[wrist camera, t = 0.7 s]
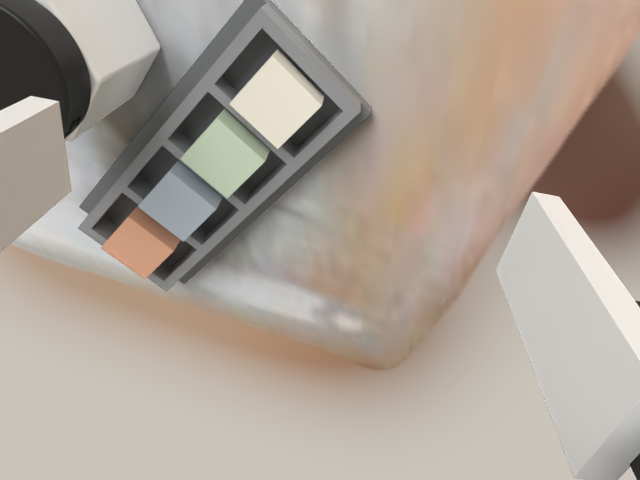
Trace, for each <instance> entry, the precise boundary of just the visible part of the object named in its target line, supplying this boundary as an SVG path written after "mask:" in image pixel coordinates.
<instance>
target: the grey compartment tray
mask: <svg viewBox="0 0 640 480" xmlns="http://www.w3.org/2000/svg"><path fill="white" fill-rule="evenodd" d="M277 49H278V50H279V51H280V52H281V53H282V54H283V55H284V56H285V57H286V58H287V59H288V60H289V61H290V62H291V63H292V64H293V65H294V66H295V67H296V68H297V69H298V70H299V71H300V72H301V74H302V75H303V76H304V77H305V78H306V79H307V80H308V81H309V82H310V83H311V84H312V85H313V86H314V87H315V88H316V89H317V90H318V91H319V92H320V93H321V94H322V95H323V96H324V99H323V103H322V106H321V107H320V108H319V109H318V110H317V111H316V112H315V113H314V114H313V115H312V116H311V117H310V118H309V119H308V120H307V121H306V122H305V123H304V124H303V125H302V126H301V127H300V128H299V129H298V130H297V131H296V132H295V133H294V134H293V135H292V136H291V137H290V138H289V139H288V140H287V141H286V142H285V143H284V144H282V145H281V146H280V147H279V148H278V149H277V148H276V147H275V146H274V145H273V144H272V143H271V142H269V141H268V140H267V139H266V138H265V137H264V136H263V135H262V134H261V133H260V132H259V131H258V130H256V129H255V128H254V127H253V126H252V125H251V124H250V123H249V122H248V121H247V120H246V119H245V118H244V117H242V116H241V115H240V114H239V113H238V112H237V111H236V110H235V109H234V108H233V107H232V106H231V105H229V104H230V102H231V101H232V100H233V99H234V97H235V96H236V95H237V94H238V93H239V92H240V90H241V89H242V88H243V87H244V86H245V85H246V84H247V83H248V81H249V80H250V79H251V78H252V77H253V76H254V75H255V74H256V73H257V71H258V70H259V69H260V68H261V67H262V66H263V65H264V64H265V62H266V61H267V60H268V59H269V58H270V57H271V56H272V55H273V53H274V52H275V51H276V50H277ZM224 108H225V109H226V110H227V111H228V112H229V113H230V114H231V115H232V116H233V117H235V118H236V119H237V120H238V121H239V122H240V123H241V124H242V125H243V126H244V127H245V128H246V129H248V130H249V131H250V132H251V133H252V134H253V135H254V136H255V137H256V138H257V139H258V140H260V141H261V142H262V143H263V144H264V145H265V146H266V147H267V148H268V149H269V150H270V152H269V154H268V156H267V158H266V161H265V162H264V163H263V164H262V165H261V166H260V167H259V168H258V169H257V170H256V171H255V172H254V173H253V174H252V175H251V176H250V177H249V178H248V179H247V180H246V181H245V182H244V183H243V184H242V185H241V186H240V187H239V188H238V189H237V190H236V191H235V192H234V193H233V194H232V195H230V196H229V197H228V198H226V197H225V196H223V195H222V194H221V193H220V192H219V191H217V190H216V189H215V188H214V187H213V186H211V185H210V184H209V183H208V182H207V181H205V180H204V179H203V178H202V177H201V176H199V175H198V174H197V173H196V172H195V171H194V170H192V169H191V168H190V167H189V166H188V165H186V164H185V163H184V162H183V161H182V160H180V159H181V157H182V156H183V155H184V154H185V152H186V151H187V150H188V149H189V148H190V147H191V145H192V144H193V143H194V142H195V141H196V140H197V139H198V138H199V136H200V135H201V134H202V133H203V132H204V131H205V130H206V129H207V127H208V126H209V125H210V124H211V123H212V122H213V121H214V120H215V118H216V117H217V116H218V115H219V114H220V113H221V112H222V111H223V110H224ZM370 114H371V106H370V105H369V104H368V103H367V102H366V101H365V100H364V99H363V98H362V97H361V96H360V94H359V93H358V92H357V91H356V90H355V89H354V88H353V87H352V86H351V85H350V84H349V83H348V82H347V81H346V80H345V79H344V77H343V76H342V75H341V74H340V73H339V72H338V71H337V70H336V69H335V68H334V67H333V66H332V65H331V64H330V63H329V62H328V61H327V59H326V58H325V57H324V56H323V55H322V54H321V53H320V52H319V51H318V50H317V49H316V48H315V47H314V46H313V45H312V44H311V42H310V41H309V40H308V39H307V38H306V37H305V36H304V35H303V34H302V33H301V32H300V31H299V30H298V29H297V28H296V27H295V26H294V24H293V23H292V22H291V21H290V20H289V19H288V18H287V17H286V16H285V15H284V14H283V13H282V12H281V11H280V10H279V9H278V7H277V6H276V5H275V4H274V3H273V2H272V1H271V0H245V1H244V2H243V3H242V4H241V6H240V7H239V8H238V9H237V11H236V12H235V13H234V14H233V16H232V17H231V18H230V19H229V21H228V22H227V23H226V24H225V26H224V27H223V28H222V29H221V31H220V32H219V33H218V34H217V36H216V37H215V38H214V39H213V41H212V42H211V43H210V44H209V46H208V47H207V48H206V49H205V51H204V52H203V53H202V54H201V55H200V57H199V58H198V59H197V60H196V62H195V63H194V64H193V65H192V67H191V68H190V69H189V70H188V72H187V73H186V74H185V75H184V77H183V78H182V79H181V80H180V82H179V83H178V84H177V85H176V87H175V88H174V89H173V90H172V92H171V93H170V94H169V95H168V97H167V98H166V99H165V100H164V102H163V103H162V104H161V105H160V107H159V108H158V109H157V110H156V112H155V113H154V114H153V115H152V117H151V118H150V119H149V120H148V122H147V123H146V124H145V125H144V126H143V128H142V129H141V130H140V131H139V133H138V134H137V135H136V136H135V138H134V139H133V140H132V141H131V143H130V144H129V145H128V146H127V148H126V149H125V150H124V151H123V153H122V154H121V155H120V156H119V158H118V159H117V160H116V161H115V163H114V164H113V165H112V166H111V168H110V169H109V170H108V171H107V173H106V174H105V175H104V176H103V178H102V179H101V180H100V181H99V183H98V184H97V185H96V186H95V188H94V189H93V190H92V191H91V193H90V194H89V195H88V196H87V198H86V199H85V200H84V201H83V202H82V204H81V205H80V206H79V207H80V208H81V209H83V210H84V211H85V212H87V213H88V214H89V215H88V216H87V218H86V219H85V220H84V221H83V222H82V224H81V225H80V226H79V227H78V229H80V230H81V231H82V232H84V233H85V234H87V235H88V236H89V237H91V238H92V239H94V240H95V241H96V242H98V243H99V244H101V245H102V246H103V245H104V243H105V242H106V241H107V240H108V239H109V237H110V236H111V235H112V234H113V233H114V232H115V231H116V229H117V228H118V227H119V226H120V225H121V224H122V223H123V222H124V220H125V219H126V218H127V217H128V216H129V215H130V214H131V213H132V212H133V210H134V209H135V208H136V207H137V206H138V205H139V204H140V203H141V202H142V201H143V200H144V198H145V197H146V196H147V195H148V194H149V192H150V191H151V190H152V189H153V188H154V187H155V186H156V185H157V183H158V182H159V181H160V180H161V179H162V178H163V177H164V176H165V175H166V173H167V172H168V171H169V170H170V169H171V168H172V167H173V166H174V164H175V163H176V162H177V161H178V160H180V161H181V162H182V163H184V164H185V165H186V166H187V167H188V168H189V169H191V170H192V171H193V172H194V173H195V174H197V175H198V176H199V177H200V178H201V179H203V180H204V181H205V182H206V183H207V184H209V185H210V186H211V187H212V188H213V189H215V190H216V191H217V192H218V193H219V194H221V195H222V196H223V198H222V200H221V202H220V203H219V205H218V207H217V209H216V210H215V211H214V212H213V213H212V214H211V215H210V216H209V217H208V218H207V219H206V220H205V221H204V222H203V223H202V224H201V225H200V226H199V227H198V228H197V229H196V230H195V231H194V232H193V233H192V234H191V235H190V236H189V237H188V238H187V239H186V240H185V241H184V242H183V241H182V240H180V242H179V243H178V245H177V247H176V248H175V250H174V251H173V252H172V253H171V254H170V255H169V256H168V257H167V258H166V259H165V260H164V261H163V262H162V263H161V264H160V265H159V266H158V267H157V268H156V269H155V270H154V271H153V272H152V273H151V274H150V275H149V276H148V277H147V278H148V279H150V280H151V281H152V282H154V283H155V284H157V285H158V286H159V287H161V288H162V289H164V290H165V291H167V290H169V289H170V288H171V287H172V286H173V285H174V284H175V283H176V282H177V281H178V280H180V281H181V282H182V283H184V284H185V283H186V282H187V281H188V280H189V279H190V278H191V277H192V276H194V275H195V274H196V273H197V272H198V271H199V270H200V269H201V268H202V267H203V266H204V265H206V264H207V263H208V262H209V261H210V260H211V259H212V258H213V257H214V256H215V255H217V254H218V253H219V252H220V251H221V250H222V249H223V248H224V247H225V246H226V245H228V244H229V243H230V242H231V241H232V240H233V239H234V238H235V237H236V236H237V235H238V234H240V233H241V232H242V231H243V230H244V229H245V228H246V227H247V226H248V225H249V224H251V223H252V222H253V221H254V220H255V219H256V218H257V217H258V216H259V215H260V214H262V213H263V212H264V211H265V210H266V209H267V208H268V207H269V206H270V205H271V204H272V203H274V202H275V201H276V200H277V199H278V198H279V197H280V196H281V195H282V194H283V193H285V192H286V191H287V190H288V189H289V188H290V187H291V186H292V185H293V184H294V183H296V182H297V181H298V180H299V179H300V178H301V177H302V176H303V175H304V174H305V173H306V172H308V171H309V170H310V169H311V168H312V167H313V166H314V165H315V164H316V163H317V162H319V161H320V160H321V159H322V158H323V157H324V156H325V155H326V154H327V153H328V152H330V151H331V150H332V149H333V148H334V147H335V146H336V145H337V144H338V143H339V142H340V141H342V140H343V139H344V138H345V137H346V136H347V135H348V134H349V133H350V132H351V131H353V130H354V129H355V128H356V127H357V126H358V125H359V124H360V123H361V122H362V121H364V120H365V119H366V118H367V117H368V116H369V115H370Z"/></svg>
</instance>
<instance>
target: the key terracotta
mask: <svg viewBox="0 0 640 480" xmlns="http://www.w3.org/2000/svg"><path fill="white" fill-rule="evenodd" d="M138 206H139V205H138ZM138 206H137V207H136V208H135V209H134V210H133V212H132V213H131V214H130V215H129V216H128V217H127V218H126V219H125V220H124V222H123V223H122V224H121V225H120V226H119V227H118V228H117V229H116V231H115V232H114V233H113V234H112V235H111V236H110V237H109V239H108V240H107V241H106V242H105V243H104V245H103V246H102V247H101V249H103V250H104V251H106V252H107V253H108V254H110V255H111V256H113V257H114V258H115V259H117V260H118V261H120V262H121V263H122V264H124V265H125V266H127V267H128V268H129V269H131V270H132V271H134V272H135V273H136V274H138V275H139V276H141V277H142V278H144V279H146V278H147V277H148V276H149V275H150V274H151V273H152V272H153V271H154V270H155V269H156V268H157V267H158V266H159V265H160V264H161V263H162V262H163V261H164V260H165V259H166V258H167V257H168V256H169V255H170V254H171V253H172V252H173V251H174V250H175V248H176V247H177V245H178V243H179V242H180V239H179V238H178V237H176V236H175V235H174V234H173V233H171V232H170V231H169V230H167V229H166V228H165V227H163V226H162V225H161V224H160V223H158V222H157V221H156V220H154V219H153V218H152V217H150V216H149V215H148V214H147V213H145V212H144V211H143V210H141V209H140V208H139V207H138Z"/></svg>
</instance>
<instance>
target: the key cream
mask: <svg viewBox="0 0 640 480" xmlns="http://www.w3.org/2000/svg"><path fill="white" fill-rule="evenodd" d="M323 99H324V96H323V95H322V94H321V93H320V92H319V91H318V90H317V89H316V88H315V87H314V86H313V85H312V84H311V83H310V82H309V81H308V80H307V79H306V78H305V77H304V76H303V75H302V74H301V72H300V71H299V70H298V69H297V68H296V67H295V66H294V65H293V64H292V63H291V62H290V61H289V60H288V59H287V58H286V57H285V56H284V55H283V54H282V53H281V52H280V51H279V50H278V49H277V50H276V51H275V52H274V53H273V55H272V56H271V57H270V58H269V59H268V60H267V61H266V62H265V64H264V65H263V66H262V67H261V68H260V69H259V70H258V71H257V73H256V74H255V75H254V76H253V77H252V78H251V79H250V80H249V81H248V83H247V84H246V85H245V86H244V87H243V88H242V89H241V90H240V92H239V93H238V94H237V95H236V96H235V97H234V99H233V100H232V101H231V102H230V104H229V105H231V106H232V107H233V108H234V109H235V110H236V111H237V112H238V113H239V114H240V115H241V116H242V117H244V118H245V119H246V120H247V121H248V122H249V123H250V124H251V125H252V126H253V127H254V128H255V129H256V130H258V131H259V132H260V133H261V134H262V135H263V136H264V137H265V138H266V139H267V140H268V141H269V142H271V143H272V144H273V145H274V146H275V147H276V148H277V149H278V148H279V147H280V146H281V145H282V144H284V143H285V142H286V141H287V140H288V139H289V138H290V137H291V136H292V135H293V134H294V133H295V132H296V131H297V130H298V129H299V128H300V127H301V126H302V125H303V124H304V123H305V122H306V121H307V120H308V119H309V118H310V117H311V116H312V115H313V114H314V113H315V112H316V111H317V110H318V109H319V108H320V107H321V106H322V103H323Z"/></svg>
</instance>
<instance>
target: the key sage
mask: <svg viewBox="0 0 640 480" xmlns="http://www.w3.org/2000/svg"><path fill="white" fill-rule="evenodd" d="M269 152H270V150H269V149H268V148H267V147H266V146H265V145H264V144H263V143H262V142H261V141H260V140H258V139H257V138H256V137H255V136H254V135H253V134H252V133H251V132H250V131H249V130H248V129H246V128H245V127H244V126H243V125H242V124H241V123H240V122H239V121H238V120H237V119H236V118H235V117H233V116H232V115H231V114H230V113H229V112H228V111H227V110H226V109H225V108H224V110H223V111H222V112H221V113H220V114H219V115H218V116H217V117H216V118H215V120H214V121H213V122H212V123H211V124H210V125H209V126H208V127H207V129H206V130H205V131H204V132H203V133H202V134H201V135H200V136H199V138H198V139H197V140H196V141H195V142H194V143H193V144H192V145H191V147H190V148H189V149H188V150H187V151H186V152H185V154H184V155H183V156H182V157H181V159H180V160H182V161H183V162H184V163H185V164H186V165H188V166H189V167H190V168H191V169H192V170H194V171H195V172H196V173H197V174H198V175H199V176H201V177H202V178H203V179H204V180H205V181H207V182H208V183H209V184H210V185H211V186H213V187H214V188H215V189H216V190H217V191H219V192H220V193H221V194H222V195H223V196H225V197H226V198H228V197H229V196H230V195H232V194H233V193H234V192H235V191H236V190H237V189H238V188H239V187H240V186H241V185H242V184H243V183H244V182H245V181H246V180H247V179H248V178H249V177H250V176H251V175H252V174H253V173H254V172H255V171H256V170H257V169H258V168H259V167H260V166H261V165H262V164H263V163H264V162H265V161H266V158H267V156H268V154H269Z"/></svg>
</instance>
